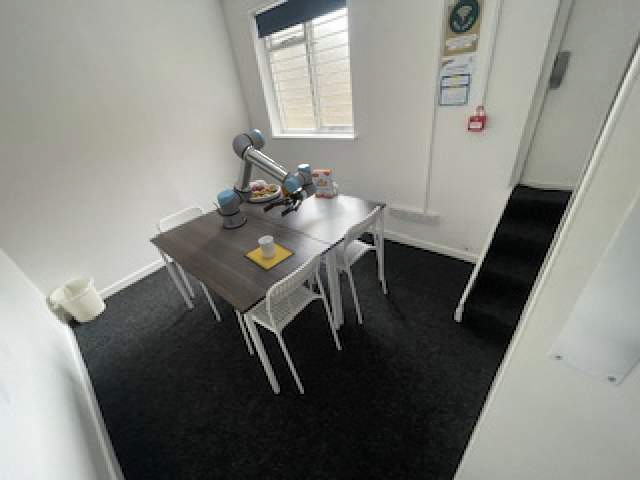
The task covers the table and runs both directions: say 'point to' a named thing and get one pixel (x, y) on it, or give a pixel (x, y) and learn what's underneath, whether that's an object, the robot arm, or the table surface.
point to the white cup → (267, 246)
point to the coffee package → (285, 191)
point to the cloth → (269, 262)
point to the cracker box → (323, 183)
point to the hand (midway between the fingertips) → (272, 212)
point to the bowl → (264, 193)
